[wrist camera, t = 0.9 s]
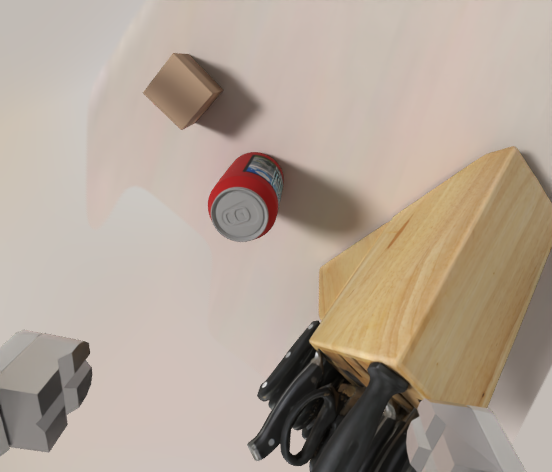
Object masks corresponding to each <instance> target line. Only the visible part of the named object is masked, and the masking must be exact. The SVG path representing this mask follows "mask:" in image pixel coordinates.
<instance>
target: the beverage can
mask: <svg viewBox="0 0 552 472" xmlns="http://www.w3.org/2000/svg"><path fill="white" fill-rule="evenodd" d="M283 183H284V178H283V173H282V170H281V168H280V166H279V165H278V163H277V162H276V161H275V160H274V159H272V158H271V157H270V156H268V155H266V154H263V153H258V152H251V153H247V154H244V155H242V156H240V157H239V158H237V159H236V160H235V161H234V162H233V164H232V165H231V166H230V167H229V168H228V170H227V171H226V172H225V174H224V175H223V176H222V177H221V179H220V180H219V181H218V183H217V184H216V186H215V187H214V188H213V190H212V192H211V194H210V196H209V200H208V211H209V215H210V218H211V220H212V222H213V225H214V226H215V228H216V229H217V231H218V232H219V233H220V234H221V235H223V236H224V237H226V238H227V239H230V240H232V241H237V242H247V241H251V240H254V239H257V238H260V237H261V236H263V235H265V234H266V233H267V232H268V231H269V230H270V229H271V228H272V226H273V225H274V223H275V220H276V216H277V212H278V208H279V204H280V199H281V195H282V189H283Z"/></svg>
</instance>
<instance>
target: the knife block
mask: <svg viewBox="0 0 552 472" xmlns="http://www.w3.org/2000/svg"><path fill="white" fill-rule="evenodd" d="M551 248H552V203H551V201H550V199H549V198H548V196H547V195H546V193H545V191H544V190H543V188H542V186H541V185H540V183H539V181H538V180H537V178H536V177H535V175H534V174H533V172H532V171H531V169H530V167H529V166H528V164H527V163H526V161H525V160H524V158H523V157H522V155H521V154H520V152H519V150H518V149H517V148H516V147H514V146H513V147H508V148H505V149H502V150H499V151H495V152H491V153H489V154H486V155H484V156H483V157H481V158H479V159H478V160H476V161H475V162H473V163H472V164H470V165H469V166H467V167H466V168H464V169H463V170H461V171H460V172H458V173H457V174H455V175H454V176H452V177H451V178H449V179H448V180H446V181H445V182H443V183H442V184H441V185H439V186H438V187H436V188H435V189H433V190H432V191H430V192H429V193H427V194H426V195H424V196H423V197H421V198H420V199H419V200H417V201H416V202H414V203H413V204H411V205H410V206H408V207H407V208H405V209H404V210H402V211H401V212H399V213H398V214H397V215H395V216H394V217H393V218H392V220H391V221H390V222H388V223H386V224H384V225H383V226H381V227H380V228H378V229H377V230H375V231H374V232H372V233H371V234H369V235H368V236H366V237H365V238H363V239H362V240H360V241H359V242H357V243H356V244H354V245H353V246H351V247H350V248H348V249H347V250H345V251H344V252H342V253H341V254H339V255H338V256H336V257H335V258H333V259H332V260H331V261H329V262H328V263H326V264H325V265H323V266H322V267H321V268H320V271H319V317H320V319H321V320H322V322H321V323H319V321H313V322H312V323H311V324H310V325H309V327H308V328H307V329H306V330H305V331H304V333H303V334H302V335H301V336H300V337H299V339H298V340H297V341H296V342H295V343H294V345H293V346H292V347H291V348H290V350H289V351H288V352H287V354H286V355H285V356H284V358H283V359H282V361H281V362H280V363H279V364H278V366H277V367H276V368H275V370H274V371H273V372H272V374H271V375H270V376H269V377H268V379H267V380H266V381H265V382H264V383H262V385H261V386H260V389H259V392H258V395H257V396H258V397H259V399H260V400H262V401H267V400H270V401H269V407H270V408H271V409H272V411H271V413H270V414H269V416H268V418H267V420H266V421H265V423H264V425H263V427H262V429H261V430H260V432H259V433H258V434H257V436H256V437H255V438H254V439H253V440H251V441H250V442H249V443H248V444H247V446H248V448H249V450H250V451H251V453H252V455H253V457H254V459H255V460H256V461H259V460H262V459H263V458H265V457H266V456H268V454H270V453H271V452H272V451H273V450H274V449H275V448H276V447H277V446H278V445H279V444H281V453H282V455H283V458H284V459H285V460H286V461H287V462H288V463H289V464H291V465H293V466H302V465H303V464H306V463H307V462H308V461H309V460H310V466H309V467H310V472H417V471H416V470H415V469H414V468H413V467H412V465H411V464H410V461H409V457H408V453H407V445H406V440H407V430H408V428H409V425H410V423H411V421H412V420H414V419H416V418H418V417H419V413H418V410H417V408H418V406H419V404H420V402H421V401H422V400H423V399H425V398H427V399H433V400H440V401H446V402H453V403H459V404H464V405H471V406H477V407H483V408H487V407H488V404H489V402H490V399H491V397H492V395H493V392H494V390H495V387H496V385H497V382H498V380H499V377H500V375H501V372H502V370H503V368H504V365H505V363H506V360H507V358H508V355H509V353H510V350H511V348H512V345H513V343H514V341H515V338H516V336H517V333H518V331H519V328H520V326H521V323H522V321H523V318H524V316H525V313H526V311H527V308H528V306H529V303H530V301H531V298H532V296H533V293H534V291H535V288H536V286H537V283H538V281H539V278H540V276H541V273H542V271H543V268H544V266H545V263H546V261H547V258H548V255H549V253H550V250H551ZM384 410H385V411H384ZM383 412H384V413H383ZM292 427H293V428H294V429H295V430H301V429H302V437H303V438H304V439H306V442H305V444H304V446H303V448H302V450H301V451H300V452H299V453H298V454H296V455H292V454H291V453H290V452H289V450H290V434H291V429H292Z"/></svg>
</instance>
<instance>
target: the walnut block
mask: <svg viewBox="0 0 552 472" xmlns="http://www.w3.org/2000/svg"><path fill="white" fill-rule="evenodd" d="M222 91H223V89H222V88H221V87H220V86H219V85H218V84H217V83H216V82H215V81H214V80H213V79H212V78H211V77H210V76H209V75H208V74H207V73H206V72H205V70H204V69H203V68H202V67H201V66H200V65H199V64H198V63H197V62H196V61H195V60H194V59H193V58H192V57H191V56H190V55H189V54H177V53H173V54H172V55H171V57H170V58H169V59H168V61H167V62H166V63H165V65H164V66H163V67H162V68H161V70H160V71H159V72H158V74H157V75H156V76H155V78H154V79H153V80H152V82H151V83H150V84H149V86H148V87H147V88H146V90H145V91H144V92H143V94H144V95H145V96H146V97H148V98H149V99H150V100H151V101H152V102H153V103H154V104H155V105H156V106H157V107H158V108H159V109H160V110H161V111H162V112H163V113H164V114H165V115H166V116H167V117H168V118H169V119H170V120H171V121H172V122H174V123H175V124H176V125H177V126H178V127H179V128H180V129H181V130H183V129H185V128H186V127H188V126H190V125H192V124H194V123H195V122H196V121H197V120H198V119H199V118H200V117H201V115H202V114H203V113H204V112H205V111H206V110H207V109H208V107H209V106H210V105H211V104H212V103H213V102H214V100H215V99H216V98H217V97H218V96H219V95H220V94H221V92H222Z"/></svg>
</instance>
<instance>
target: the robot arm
mask: <svg viewBox="0 0 552 472" xmlns="http://www.w3.org/2000/svg"><path fill="white" fill-rule="evenodd" d="M89 354H90V349H89V343H87V342H85V341H81V340H76V339H71V338H66V337H60V336H56V335H51V334H46V333H44V334H43V333H38V332H33V331H28V330H22V331H20V332H17V333H15V334H14V335H13V336H12V337H11V338H10V339H9V340H8V341H7V342H5V343H4V344H3V345H2V346H1V347H0V456H1V455H3V454H4V453H5V452H7V451H8V450H9V449H10V448H9V447H14V448H20V449H28V450H35V451H42V452H49V451H50V450H51V449H52V447H53V446H54V444H55V443H56V441H57V439H58V438H59V437H60V435H61V434H62V432H63V431H64V429H65V428H66V426H67V414H69V413H71V412H72V411H74V410H76V409H77V408H79V407H80V405H81V404H82V402H83V400H84V399H85V397H86V395H87V393H88V390H89V387H90V385H91V380H92V367H91V366H90V365H89V364H88V362H87V361H86V358H87V357H88V356H89ZM417 410H418V413H419V417H418V418H416V419H414V420H412V421H411V423H410V425H409V428H408V430H407V440H406V445H407V453H408V457H409V461H410V464H411V465H412V467H413V468H414V469H415V470H416V471H417V472H526V470H525V468H524V466H523V465H522V463H521V461H520V459H519V457H518V456H517V454H516V452H515V450H514V448H513V447H512V445H511V443H510V441H509V439H508V438H507V436H506V434H505V432H504V430H503V429H502V427H501V425H500V423H499V421H498V419H497V418H496V416H495V414H494V413H493V412H492V411H491V410H490V409H489V408H483V407H477V406H471V405H464V404H459V403H453V402H446V401H440V400H433V399H427V398H425V399H423V400H422V401H421V402H420V404H419V406H418V408H417Z"/></svg>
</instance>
